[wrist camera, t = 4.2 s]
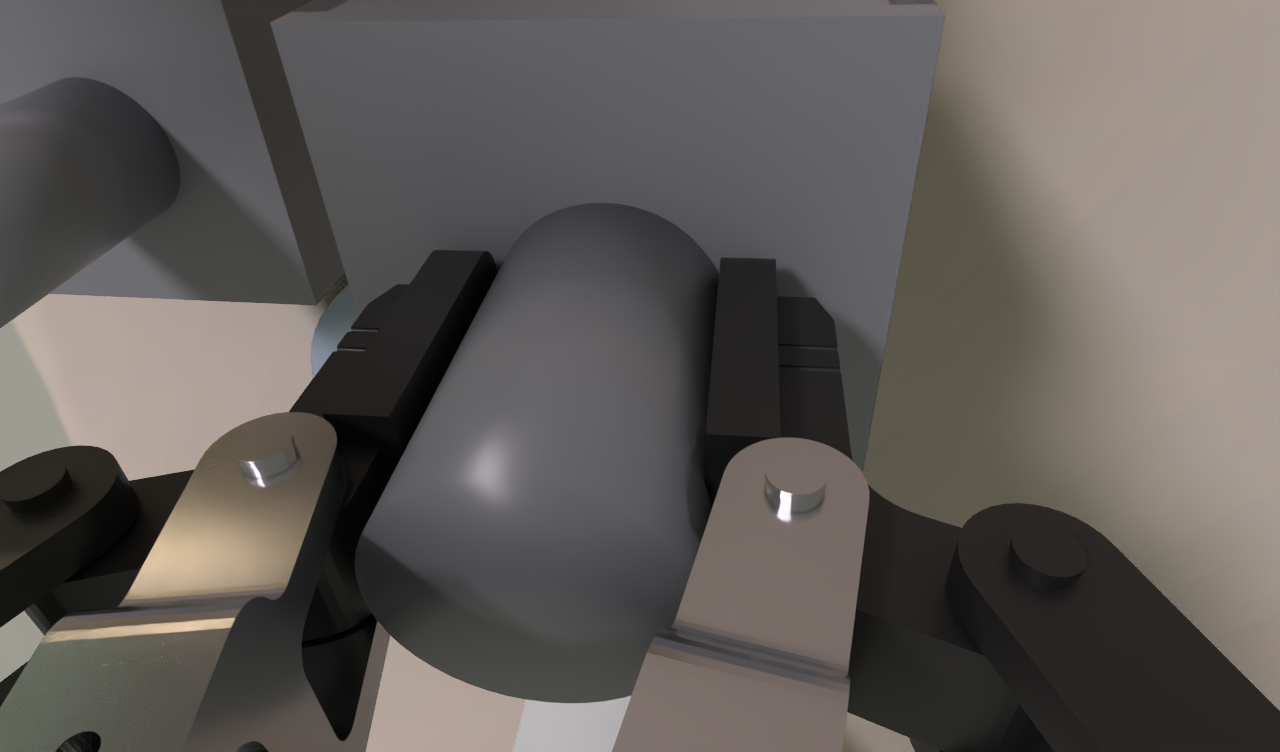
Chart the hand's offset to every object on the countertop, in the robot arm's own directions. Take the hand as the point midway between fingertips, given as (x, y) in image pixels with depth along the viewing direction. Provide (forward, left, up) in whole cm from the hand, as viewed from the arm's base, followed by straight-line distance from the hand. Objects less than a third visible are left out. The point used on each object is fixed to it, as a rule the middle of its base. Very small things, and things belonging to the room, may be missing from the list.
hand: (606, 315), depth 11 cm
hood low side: (0, 0, -7) cm, 7 cm away
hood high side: (0, -12, -13) cm, 18 cm away
